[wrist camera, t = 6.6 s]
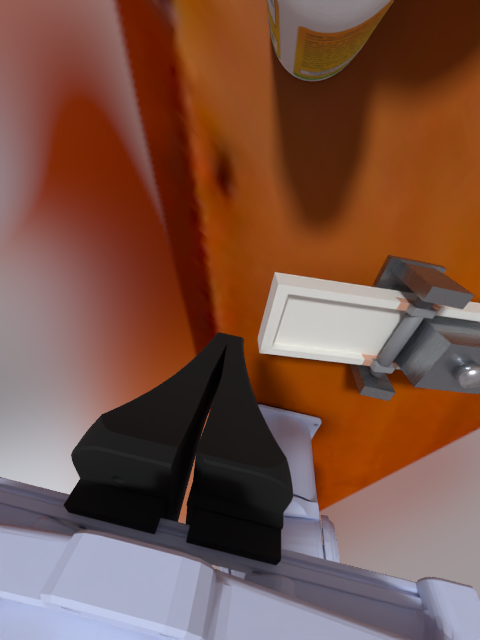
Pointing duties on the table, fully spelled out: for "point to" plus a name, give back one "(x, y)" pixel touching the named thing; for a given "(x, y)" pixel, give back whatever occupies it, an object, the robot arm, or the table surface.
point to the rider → (443, 355)
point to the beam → (345, 321)
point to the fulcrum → (428, 288)
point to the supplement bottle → (321, 33)
